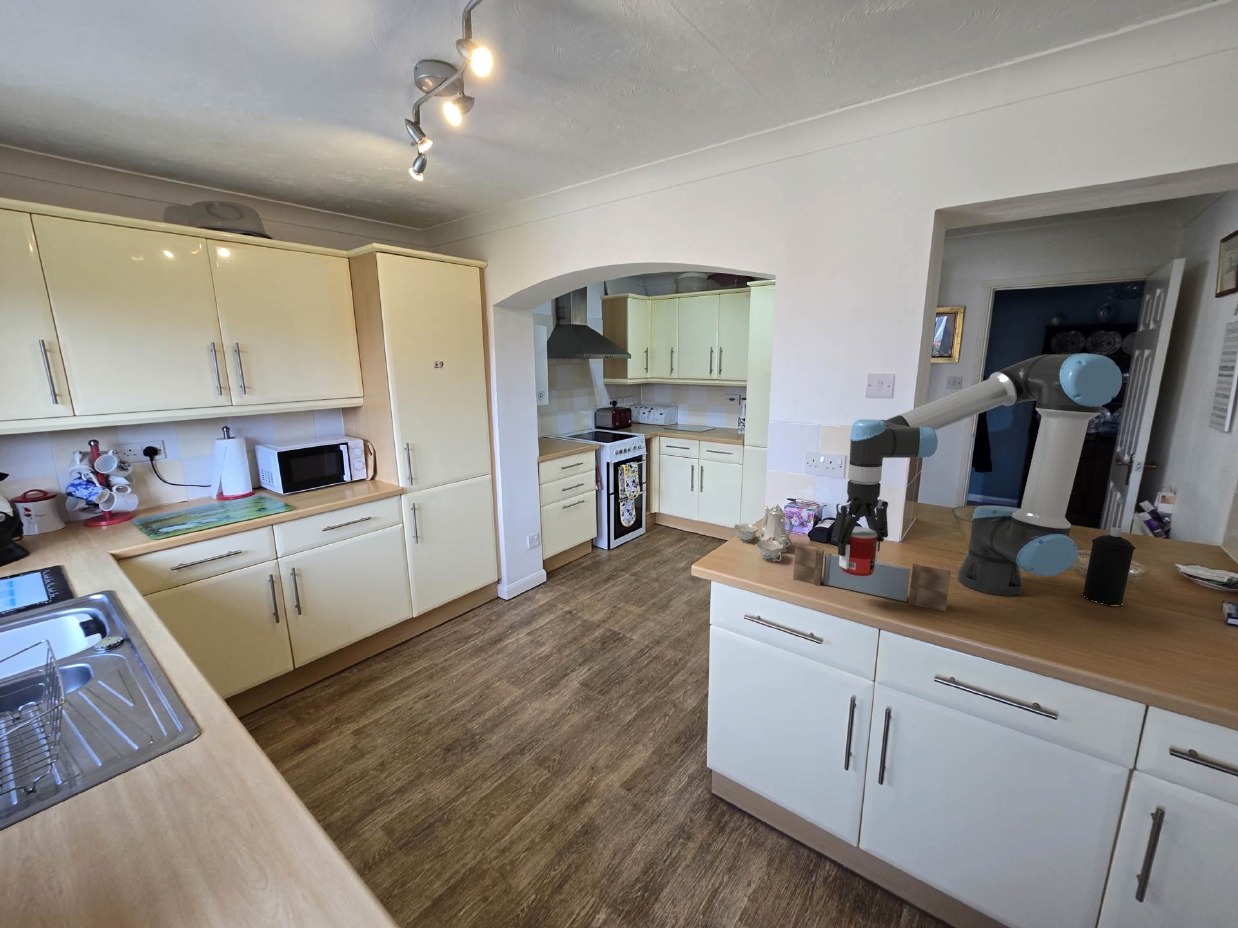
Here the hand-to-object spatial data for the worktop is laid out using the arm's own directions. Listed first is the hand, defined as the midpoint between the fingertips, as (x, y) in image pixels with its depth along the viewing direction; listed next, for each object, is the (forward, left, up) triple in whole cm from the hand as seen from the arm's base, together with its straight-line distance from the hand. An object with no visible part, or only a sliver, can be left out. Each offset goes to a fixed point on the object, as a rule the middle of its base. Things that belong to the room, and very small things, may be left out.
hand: (857, 564), depth 130 cm
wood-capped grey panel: (-2, -8, -11) cm, 13 cm away
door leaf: (-1, -8, -11) cm, 13 cm away
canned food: (0, 0, -2) cm, 2 cm away
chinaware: (+31, -27, -11) cm, 43 cm away
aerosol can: (-57, -36, -11) cm, 68 cm away
